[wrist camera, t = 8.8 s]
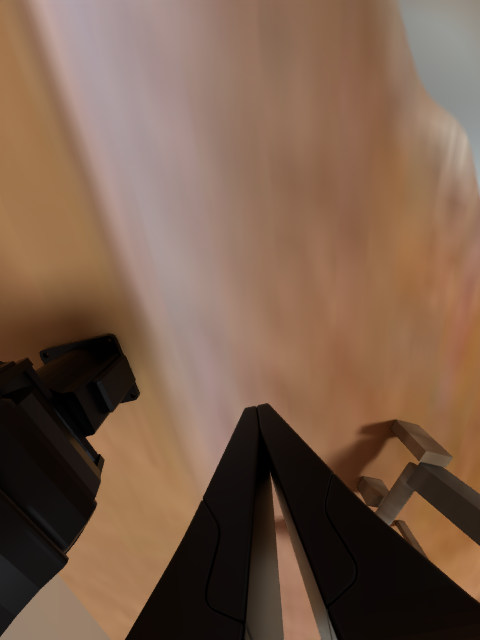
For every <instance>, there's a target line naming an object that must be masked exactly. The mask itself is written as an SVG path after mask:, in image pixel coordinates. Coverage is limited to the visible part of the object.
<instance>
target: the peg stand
mask: <svg viewBox="0 0 480 640" xmlns="http://www.w3.org/2000/svg"><path fill="white" fill-rule="evenodd" d="M390 429H391V430H392V431H393V433H394V434H395V435H396V436H397V437H398V438H399V439H400V440H401V442H402V443H403V444H404V445H405V446H406V447H407V448H408V449H409V451H410V452H411V453H412V454H413V455H414V456H415V457H416V458H417V460H418V461H419V462H424V463H428V464H433V465H437V466H442V467H447V465H448V464H449V463H450V461H451V460H452V458H453V457H452V456H451V455H450V454H449V453H448V452H447V451H446V450H445V449H444V448H443V447H442V446H441V445H439V444H438V443H437V442H436V441H435V440H434V439H433V438H432V437H431V436H430V435H429V434H428V433H427V432H426V431H424V430H423V429H422V428H421V427H420V426H419V425H415V424H411V423H407V422H403V421H399V420H395V422H394V423H393V425H392V427H391V428H390ZM357 488H358V489H359V491H360V493H361V495H362V497H363V499H364V501H365V503H366V505H367V506H372V507H378V508H379V506H380V505H381V503H382V502H383V500H384V499H385V497H386V496H387V494H388V493H389V490H388V489H387V487H386V486H385V484H384V483H383V481H382V480H378V479H373V478H368V477H364V476H363V478H362V479H361V481H360V482H359V484H358V486H357ZM395 524H396V526H397V527H398V529H399V531H400V532H401V534H402V536H403V537H404V539H405V540H406V541H408V542H409V543H410V544H411V545H412V546H413V547H415V548H416V549H417V550H418V551H419V552H420V553H421V554H423V555H424V556H425V557H426V558H427V556H426V554H425V553H424V551H423V550H422V548H421V547H420V545H419V543H418V542H417V540H416V539H415V537H414V536H413V534H412V532H411V531H410V529H409V528H408V526H407V525H406V523H405V522H404V521H399V520H397V522H396V523H395ZM427 559H428V558H427ZM428 560H429V559H428Z"/></svg>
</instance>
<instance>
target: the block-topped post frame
mask: <svg viewBox="0 0 480 640" xmlns="http://www.w3.org/2000/svg"><path fill="white" fill-rule="evenodd" d="M414 491H416V492H417V493H419V494H420V495H421V496H422V497H423V498H424V499H426V500H427V501H428V502H429V503H430V504H431V505H433V506H434V507H435V508H436V509H437V510H438V511H440V512H441V513H442V514H443V515H444V516H445V517H447V518H448V519H449V520H450V521H451V522H452V523H454V524H455V525H456V526H457V527H458V528H459V529H461V530H462V531H463V532H464V533H465V534H466V535H468V536H469V537H470V538H471V539H472V540H473V541H475V542H476V543H477V544H478V545H479V546H480V494H479V493H478V492H476V491H475V490H473V489H472V488H471V487H469V486H468V485H467V484H465V483H464V482H462V481H461V480H460V479H458V478H457V477H456V476H454V475H453V474H451V473H450V472H449V471H447V470H446V469H445V468H443V467H442V466H437V465H433V464H428V463H424V462H420V463H419V465H416V464H414V463H412V462H409V463H408V464H407V466H406V467H405V469H404V470H403V472H402V473H401V475H400V476H399V478H398V479H397V481H396V482H395V484H394V485H393V487H392V488H391V490H390V491H389V493H388V494H387V496H386V497H385V499H384V500H383V502H382V503H381V505H380V506H379V508H378V509H377V511H376V512H375V513H376V514H377V515H378V516H379V517H380V518H381V519H382V520H383V521H385V522H386V523H387V524H388V525H389V526H390V525H391V523H392V522H393V520H394V519H395V518H396V516H397V515H398V513H399V512H400V511H401V509H402V508H403V506H404V505H405V504H406V502H407V501H408V499H409V498H410V497H411V495H412V494H413V492H414Z"/></svg>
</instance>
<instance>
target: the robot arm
mask: <svg viewBox="0 0 480 640" xmlns="http://www.w3.org/2000/svg"><path fill="white" fill-rule="evenodd" d="M108 338H110V339H111V340H112V342H110V341H109V340H108ZM46 353H48V354H49V356H48V355H47V354H46ZM40 357H41V359H42V361H43V363H44V366H42V367H41V368H39V369H38V370H36V371H35V370H34V369H33V367H32V365H33V364H32V362H31V361H30V360H29V358H28V357H27V358H25V359H22V360H20V361H17V362H14V361H11V362H8V363H7V362H2V361H0V637H1V635H2V634H3V633H4V631H5V630H6V629H7V628H8V626H9V625H10V624H11V623H12V621H13V620H14V619H15V617H16V616H17V615H18V614H19V613H20V612H21V610H22V609H23V608H24V607H25V606H26V605H27V604H28V603H29V601H30V600H31V599H32V598H33V597H34V596H35V595H36V593H37V592H38V591H39V590H40V589H41V588H42V587H43V586H44V585H45V584H46V583H47V582H49V580H51V579H52V578H53V577H54V576H55V575H56V574H57V573H58V572H59V571H60V570H61V569H63V568H64V566H65V565H66V564H67V562H68V559H69V558H68V557H67V555H66V553H67V552H68V551H69V550H70V549H71V547H72V546H73V545H74V544H75V542H76V541H77V539H78V538H79V536H80V535H81V533H82V532H83V530H84V528H85V526H86V525H87V523H88V522H89V520H90V518H91V516H92V515H93V513H94V511H95V509H96V506H97V502H96V501H95V497H96V495H97V491H98V488H99V485H100V482H101V472H102V468H103V465H104V459H103V457H102V456H101V455H100V454H97V452H96V451H95V450H94V448H93V447H92V446H91V444H90V443H89V442H88V440H87V439H86V437H87V436H90V435H94V434H95V432H96V431H97V430H98V428H99V427H100V426H101V424H102V423H103V422H104V420H105V419H106V418H107V416H108V415H109V413H111V412H113V411H114V410H115V409H116V407H117V406H118V405H119V404H120V403H124V402H129V401H133V400H136V399H137V398H138V397H139V395H140V392H139V389H138V387H137V385H136V382H135V380H136V379H135V377H134V375H133V372H132V370H131V367H130V365H129V363H128V360H127V358H126V356H125V355H124V354H123V352H122V349H121V347H120V345H119V342H118V340H117V338H116V336H115V335H113V334H106V335H101V336H97V337H93V338H88V339H84V340H80V341H75V342H71V343H67V344H63V345H58V346H54V347H50V348H46V349H44V350H42V351H41V352H40ZM132 393H133V394H135V395H132ZM270 473H271V475H270ZM271 477H272V480H273V484H274V487H275V491H276V494H277V497H278V500H279V504H280V507H281V510H282V513H283V517H284V520H285V523H286V526H287V530H288V533H289V536H290V539H291V543H292V546H293V549H294V552H295V556H296V559H297V562H298V565H299V568H300V572H301V575H302V578H303V581H304V585H305V588H306V591H307V594H308V598H309V601H310V604H311V607H312V611H313V614H314V617H315V620H316V624H317V627H318V630H319V633H320V637H321V640H480V603H479V602H478V601H477V600H475V599H474V598H473V597H472V596H470V595H469V594H468V593H467V592H466V591H464V590H463V589H462V588H461V587H460V586H459V585H457V584H456V583H455V582H454V581H453V580H452V579H450V578H449V577H448V576H447V575H446V574H445V573H443V572H442V571H441V570H440V569H439V568H438V567H436V566H435V565H434V564H433V563H432V562H431V561H430V560H428V559H427V558H426V557H425V556H424V555H423V554H421V553H420V552H419V551H418V550H417V549H416V548H415V547H413V546H412V545H411V544H410V543H409V542H408V541H406V540H405V539H404V538H403V537H402V536H401V535H399V534H398V533H397V532H396V531H395V530H394V529H393V528H391V527H390V526H389V525H388V524H387V523H386V522H385V521H383V520H382V519H381V518H380V517H379V516H378V515H377V514H376V513H375V512H373V511H372V510H371V509H370V508H369V507H368V506H367V505H366V504H365V503H364V502H363V501H362V500H361V499H360V498H359V497H358V496H357V495H356V494H355V493H354V492H353V491H351V490H350V489H349V488H348V487H347V486H346V484H345V483H344V482H343V481H342V480H341V479H340V478H339V477H338V476H337V475H336V474H334V473H333V471H332V470H331V469H330V468H329V467H328V466H327V465H326V464H325V463H324V462H323V460H322V459H321V458H320V457H319V456H318V455H317V454H316V453H315V452H314V451H313V450H312V449H311V448H310V447H309V446H308V445H307V444H306V443H305V442H304V440H303V439H302V438H301V437H300V436H299V435H298V434H297V433H296V432H295V431H294V430H293V429H292V428H291V427H290V426H289V425H288V424H287V423H286V422H285V420H284V419H283V418H282V417H281V416H280V415H279V414H278V413H277V412H276V411H275V410H274V409H273V408H272V407H271V406H270V405H269V404H268V403H266V404H261V405H258V406H257V407H256V406H252V407H247V408H245V409H244V411H243V413H242V415H241V417H240V419H239V421H238V424H237V426H236V428H235V430H234V432H233V434H232V436H231V439H230V441H229V443H228V445H227V447H226V449H225V451H224V454H223V456H222V458H221V460H220V462H219V464H218V466H217V468H216V471H215V473H214V475H213V477H212V479H211V481H210V483H209V486H208V488H207V490H206V492H205V494H204V496H203V500H202V501H201V502H200V504H199V507H198V509H197V511H196V513H195V515H194V517H193V519H192V521H191V523H190V525H189V527H188V529H187V531H186V533H185V535H184V537H183V539H182V541H181V543H180V545H179V546H178V548H177V550H176V552H175V554H174V555H173V557H172V559H171V561H170V563H169V564H168V566H167V568H166V570H165V571H164V573H163V575H162V577H161V578H160V580H159V582H158V583H157V585H156V587H155V589H154V590H153V592H152V594H151V596H150V597H149V599H148V601H147V602H146V604H145V606H144V608H143V609H142V611H141V613H140V615H139V616H138V618H137V620H136V621H135V623H134V625H133V627H132V628H131V630H130V632H129V634H128V635H127V637H126V639H125V640H284V634H283V621H282V608H281V596H280V583H279V570H278V558H277V545H276V533H275V520H274V507H273V495H272V483H271Z"/></svg>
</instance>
